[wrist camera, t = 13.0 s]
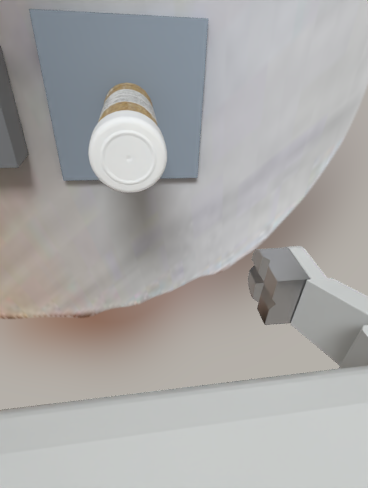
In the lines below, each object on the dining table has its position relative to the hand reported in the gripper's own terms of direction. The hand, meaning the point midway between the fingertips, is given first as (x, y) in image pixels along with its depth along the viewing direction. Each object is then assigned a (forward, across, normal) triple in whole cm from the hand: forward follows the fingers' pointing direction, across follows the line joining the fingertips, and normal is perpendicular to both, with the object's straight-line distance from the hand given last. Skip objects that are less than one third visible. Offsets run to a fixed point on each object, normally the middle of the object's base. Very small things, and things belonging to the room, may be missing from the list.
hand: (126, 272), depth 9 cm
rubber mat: (+24, 0, 0) cm, 24 cm away
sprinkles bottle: (+24, 0, 0) cm, 24 cm away
